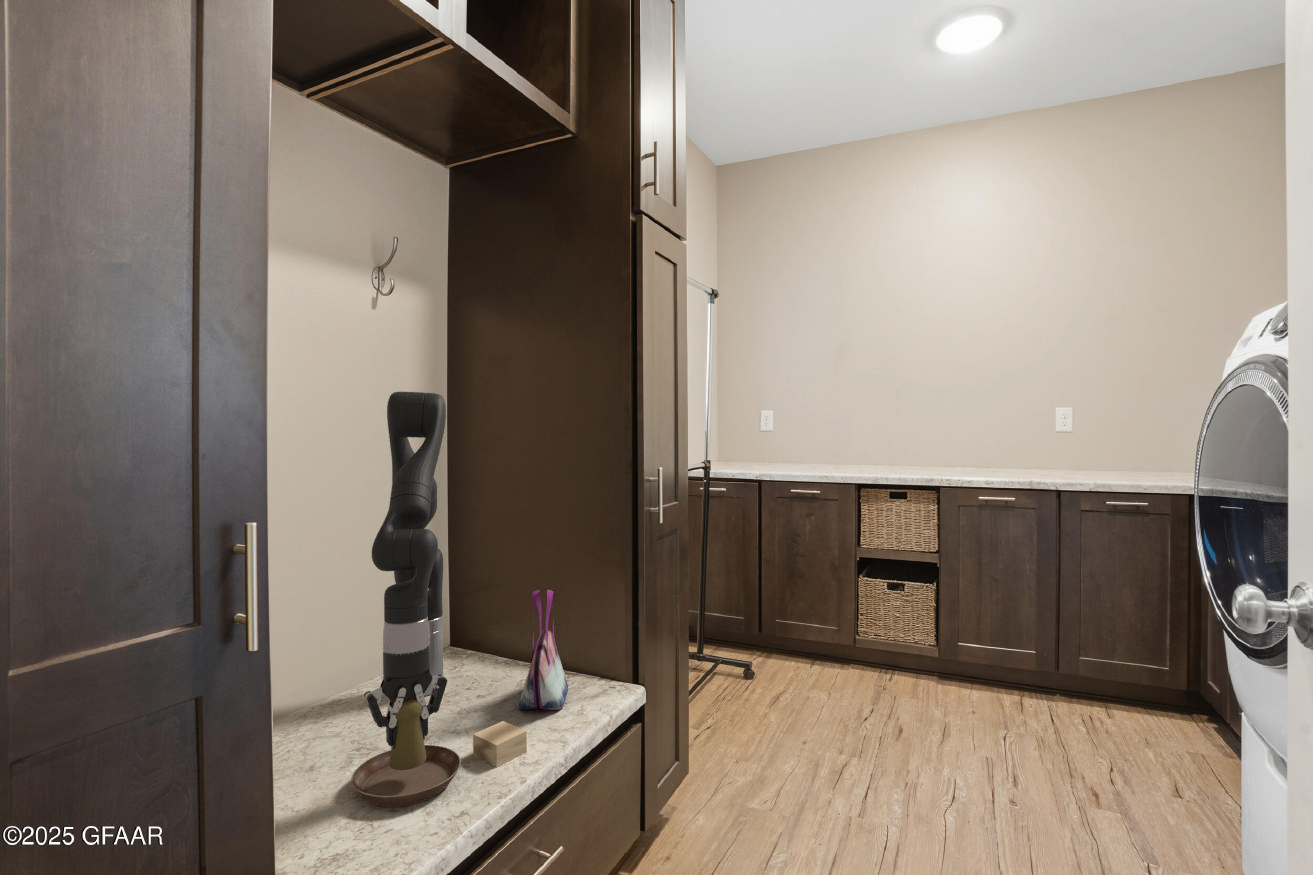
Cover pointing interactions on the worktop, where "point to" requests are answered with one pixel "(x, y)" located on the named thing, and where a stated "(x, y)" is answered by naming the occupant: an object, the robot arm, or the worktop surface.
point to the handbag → (544, 667)
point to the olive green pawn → (408, 738)
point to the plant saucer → (405, 778)
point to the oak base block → (499, 743)
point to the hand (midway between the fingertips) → (407, 742)
